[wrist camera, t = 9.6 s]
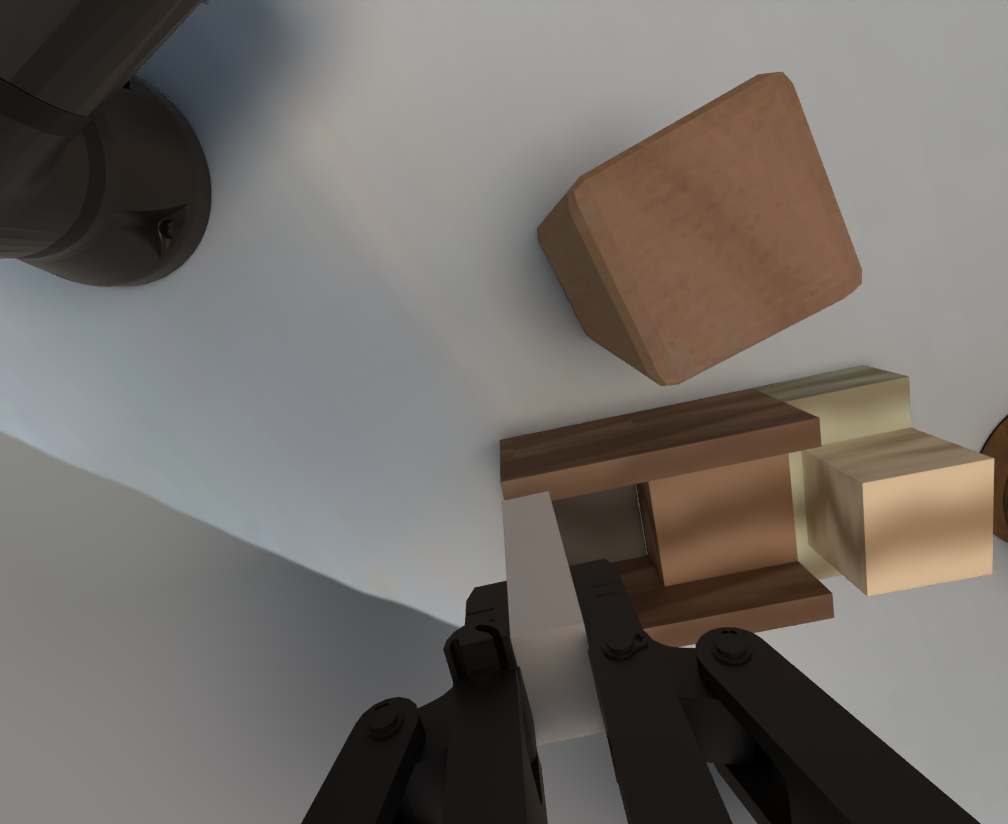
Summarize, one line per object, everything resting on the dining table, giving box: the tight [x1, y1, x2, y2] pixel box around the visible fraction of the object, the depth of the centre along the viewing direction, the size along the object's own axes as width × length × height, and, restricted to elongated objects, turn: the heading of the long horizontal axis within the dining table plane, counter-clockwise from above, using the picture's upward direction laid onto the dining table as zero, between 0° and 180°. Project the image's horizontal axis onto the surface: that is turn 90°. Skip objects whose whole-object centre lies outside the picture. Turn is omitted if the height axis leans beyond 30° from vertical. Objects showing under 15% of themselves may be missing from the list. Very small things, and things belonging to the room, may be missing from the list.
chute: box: [500, 366, 911, 647], centre depth 42 cm, size 15×30×10 cm, turn 102°
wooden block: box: [537, 72, 862, 386], centre depth 32 cm, size 10×10×20 cm
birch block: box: [801, 428, 994, 596], centre depth 38 cm, size 8×8×7 cm
